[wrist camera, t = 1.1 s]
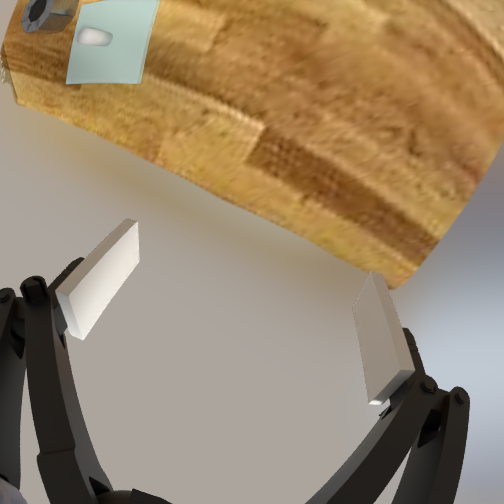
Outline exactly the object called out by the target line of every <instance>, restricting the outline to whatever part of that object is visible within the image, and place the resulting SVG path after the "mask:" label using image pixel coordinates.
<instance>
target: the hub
mask: <svg viewBox="0 0 504 504" xmlns="http://www.w3.org/2000/svg"><path fill="white" fill-rule="evenodd" d="M78 2H79V0H30V1H29V3H28V4H27V5H26V7H25V10H24V14H23V18H22V21H21V25H22V27H23V29H24V31H25V33H38V34H52V33H56V32H60V31H62V30H63V29H64V28H65V27H66V26H67V25H68V23H69V22H70V21H71V20H72V19H73V18H74V16H75V13H76V9H77V6H78Z"/></svg>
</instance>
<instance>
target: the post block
mask: <svg viewBox="0 0 504 504" xmlns="http://www.w3.org/2000/svg"><path fill="white" fill-rule="evenodd" d="M159 3H160V0H106V1H100V2H95V3H90V4H86V5H82V7H81V10H80V14H79V17H78V21H77V25H76V29H75V34H74V38H73V43H72V48H71V53H70V59H69V65H68V71H67V78H66V84H81V83H132V84H141V80H142V74H143V69H144V64H145V59H146V54H147V49H148V45H149V41H150V36H151V32H152V28H153V24H154V21H155V17H156V13H157V10H158V6H159Z"/></svg>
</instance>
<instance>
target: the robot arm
mask: <svg viewBox="0 0 504 504" xmlns="http://www.w3.org/2000/svg"><path fill="white" fill-rule="evenodd" d="M138 262H139V241H138V221H137V220H132V219H127V218H126V219H125V220H124V221H123V222H122V223H121V224H120V225H119V226H118V227H116V228H115V229H114V231H112V232H111V233H110V234H109V235H108V236H107V237H106V238H105V239H104V240H103V241H102V242H101V243H100V244H99V245H98V246H97V247H96V248H95V249H94V250H93V251H92V252H91V253H90V254H89V255H88V256H87V257H86V258H82V257H80V258H78V259H76V260H74V261H72V262H71V263H70V264H69V265H68V267H66V269H64V270H63V271H62V273H61V274H60V275H59V276H58V277H57V278H56V279H55V280H54V281H53V282H52V283H51V284H50V285H49V287H48V288H47V285H46V282H45V279H44V278H43V277H41V276H32V277H29V278H27V279H26V280H24V281H23V282H22V284H21V286H20V290H21V293H22V295H23V297H16V295H15V292H14V290H13V289H12V288H3V289H1V290H0V504H27V502H26V500H25V499H24V498H23V496H22V494H21V493H20V492H19V489H20V477H21V476H20V475H21V473H20V420H21V405H22V393H23V385H24V377H25V370H26V368H27V378H28V388H29V396H30V402H31V409H32V415H33V420H34V426H35V430H36V435H37V439H38V444H39V448H40V453H39V454H38V455H37V464H38V468H39V472H40V475H41V478H42V481H43V484H44V487H45V490H46V493H47V496H48V498H49V501H50V504H172V503H170V502H168V501H166V500H164V499H162V498H160V497H157V496H153V495H150V494H147V493H145V492H141V491H139V490H136V489H132V491H126V490H125V491H124V490H119V491H114V490H113V488H112V486H111V484H110V482H109V479H108V478H107V476H106V474H105V473H104V471H103V469H102V468H101V466H100V464H99V462H98V459H97V457H96V454H95V451H94V449H93V446H92V443H91V440H90V437H89V434H88V431H87V428H86V425H85V422H84V418H83V415H82V412H81V408H80V404H79V401H78V397H77V393H76V389H75V384H74V380H73V375H72V371H71V366H70V361H69V356H68V350H67V343H66V337H65V334H64V331H65V329H66V328H67V327H68V329H69V332H70V334H71V335H72V336H75V337H77V338H79V339H81V340H84V339H85V337H86V336H87V334H88V333H89V331H90V330H91V328H92V327H93V325H94V324H95V322H96V321H97V319H98V318H99V316H100V315H101V313H102V312H103V310H104V309H105V308H106V306H107V305H108V303H109V302H110V300H111V299H112V298H113V296H114V295H115V293H116V292H117V291H118V289H119V288H120V287H121V285H122V284H123V282H124V281H125V280H126V278H127V277H128V276H129V274H130V273H131V272H132V270H133V269H134V268H135V266H136V265H137V264H138ZM352 309H353V314H354V318H355V324H356V329H357V334H358V339H359V344H360V350H361V356H362V362H363V369H364V375H365V382H366V389H367V396H368V404H383V403H384V402H385V401H386V400H387V399H390V406H389V407H387V408H386V409H385V410H384V411H383V412H382V413H381V414H380V415H379V416H380V419H379V420H378V422H377V423H376V424H375V425H374V427H373V428H372V430H371V431H370V432H369V434H368V435H367V436H366V438H365V439H364V440H363V441H362V443H361V444H360V445H359V446H358V448H357V449H356V450H355V451H354V452H353V454H352V455H351V456H350V457H349V458H348V460H347V461H346V462H345V463H344V464H343V465H342V466H341V468H340V469H339V470H338V471H337V472H336V473H335V474H334V476H332V477H331V478H330V480H329V481H328V482H327V483H326V484H325V485H324V486H323V487H322V488H321V489H320V490H319V491H318V492H317V493H316V494H315V495H314V496H313V497H312V498H311V499H310V500H309V501H308V502H306V503H305V504H373V503H374V502H375V501H376V499H377V498H378V497H379V495H380V494H381V493H382V491H383V490H384V489H385V487H386V485H387V484H388V483H389V481H390V480H391V479H392V477H393V475H394V474H395V472H396V471H397V469H398V468H399V466H400V465H401V463H402V462H403V460H404V458H405V457H406V455H407V453H408V452H409V450H410V448H411V446H412V448H411V451H410V454H409V458H408V461H407V464H406V467H405V470H404V473H403V476H402V478H401V481H400V484H399V486H398V489H397V491H396V494H395V496H394V499H393V501H392V504H453V503H454V499H455V495H456V491H457V488H458V483H459V479H460V474H461V470H462V464H463V459H464V453H465V446H466V440H467V431H468V422H469V409H470V398H469V396H468V393H467V392H466V391H465V390H464V389H463V388H461V387H458V386H457V387H454V388H453V389H452V390H451V391H450V392H448V391H445V390H442V389H439V388H438V385H437V383H436V382H435V380H434V379H433V378H432V377H430V376H428V375H426V373H425V370H424V367H423V363H422V360H421V357H420V354H419V352H418V348H417V346H416V342H415V340H414V336H413V335H412V333H411V332H410V331H409V329H408V328H402V326H401V323H400V320H399V318H398V315H397V312H396V309H395V307H394V304H393V301H392V299H391V296H390V293H389V290H388V288H387V285H386V283H385V280H384V278H383V275H382V274H379V273H375V272H371V271H370V273H369V275H368V277H367V280H366V282H365V284H364V286H363V288H362V290H361V292H360V294H359V296H358V298H357V300H356V302H355V303H354V305H353V307H352Z"/></svg>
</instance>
